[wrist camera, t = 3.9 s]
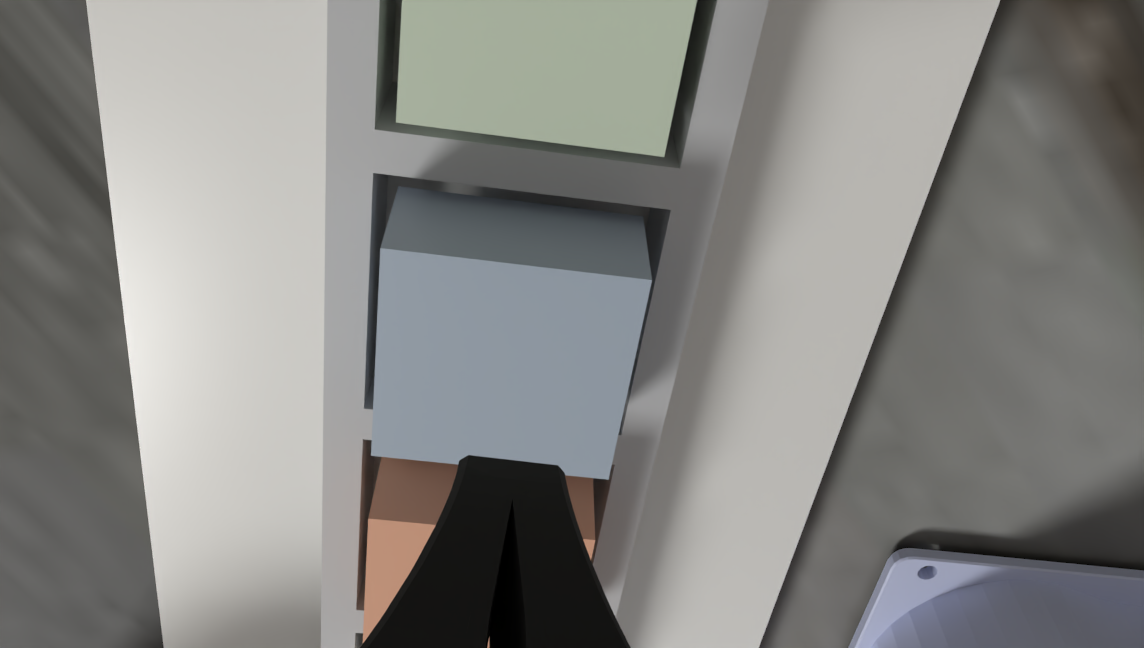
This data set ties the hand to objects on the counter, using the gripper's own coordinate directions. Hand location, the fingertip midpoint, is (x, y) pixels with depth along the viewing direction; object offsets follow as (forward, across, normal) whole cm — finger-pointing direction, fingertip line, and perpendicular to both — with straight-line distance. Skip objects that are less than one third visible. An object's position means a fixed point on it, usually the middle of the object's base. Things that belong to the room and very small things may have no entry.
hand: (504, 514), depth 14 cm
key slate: (+6, 0, +1) cm, 6 cm away
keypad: (+9, 0, +4) cm, 10 cm away
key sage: (+8, 0, -5) cm, 9 cm away
